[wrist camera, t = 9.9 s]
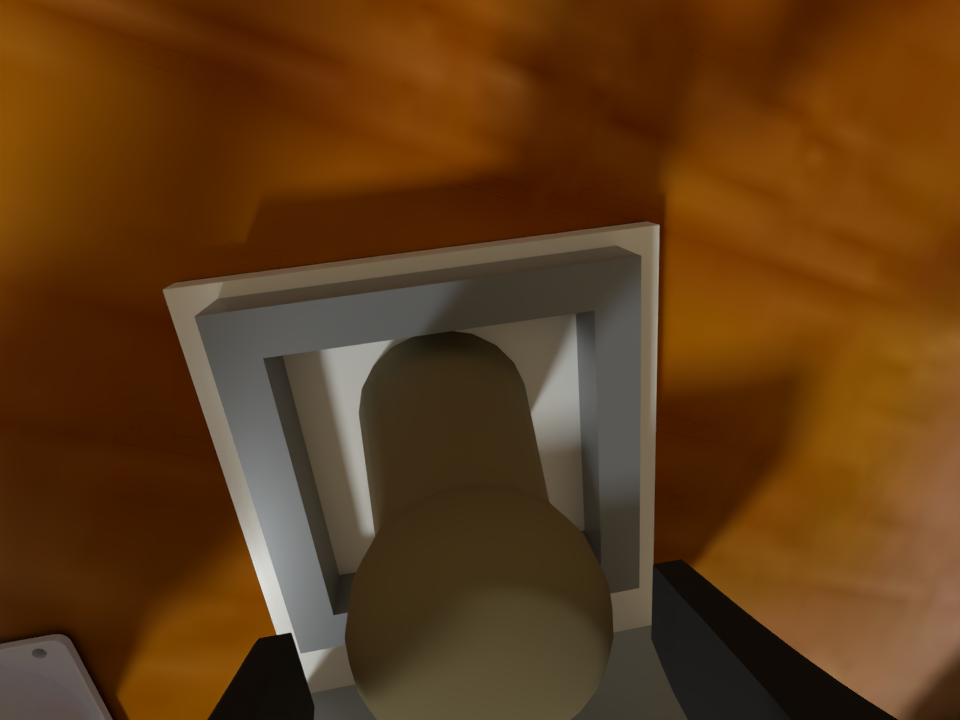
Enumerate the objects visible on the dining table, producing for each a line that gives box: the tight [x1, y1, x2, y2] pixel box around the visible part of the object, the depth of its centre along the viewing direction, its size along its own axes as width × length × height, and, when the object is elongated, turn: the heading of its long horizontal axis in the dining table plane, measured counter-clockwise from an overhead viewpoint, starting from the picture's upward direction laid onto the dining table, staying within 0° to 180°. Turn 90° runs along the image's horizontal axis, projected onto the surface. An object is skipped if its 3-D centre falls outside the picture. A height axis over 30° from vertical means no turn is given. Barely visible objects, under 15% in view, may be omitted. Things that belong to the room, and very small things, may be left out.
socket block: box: [163, 221, 688, 720], centre depth 17 cm, size 16×19×10 cm
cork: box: [344, 331, 614, 720], centre depth 14 cm, size 6×6×11 cm
